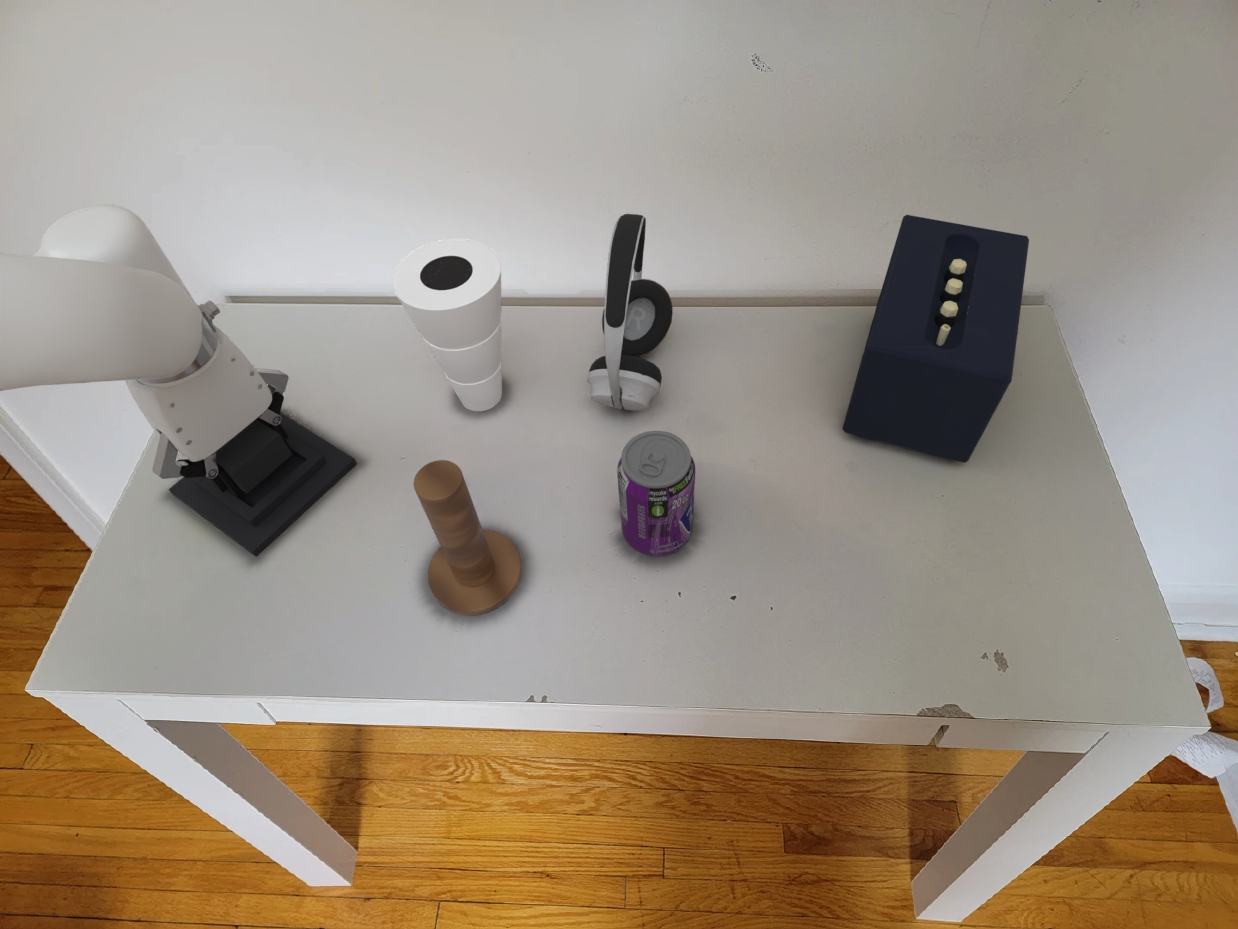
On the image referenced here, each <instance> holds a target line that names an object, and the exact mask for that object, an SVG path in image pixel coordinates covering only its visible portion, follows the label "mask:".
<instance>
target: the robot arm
mask: <svg viewBox="0 0 1238 929" xmlns="http://www.w3.org/2000/svg"><path fill="white" fill-rule="evenodd" d="M220 313H221V310H220V308H219V307H218V306H217V305H216V303H214V302H213V301H212V300H208V301H206V302H205V303H201V304H199V305H198V304H197V302H196V301H195V300H194V298H193V296H192V294H191V293H190V291H189V290H188V288H187V287H186V285H185V283H184V282H183V280H182V279H181V277H180V276H179V274H178V273H177V270H176V269H175V268H174V267H173V265H172V263H171V261H170V260H169V259H168V257H167V255H166V254H165V252H164V251H163V249H162V248H161V246H160V244H159V243H158V241H157V240H156V238H155V236H154V235H153V233H152V232H151V230H150V228H149V227H148V226H147V225H146V223H145V222H144V220H143V219H142V218H141V217H139V215H138V214H136V213H135V212H133V211H132V210H130V209H128V208H126V207H123V206H121V205H115V204H95V205H88V206H85V207H81V208H77V209H76V210H75V209H74V210H73V211H71V212H68V213H66V214H65V215H63V216H61V217H59V218H58V219H57V220H54V222H53V223H52V224H51V225H50V226H49V227H48V228H47V229H46V230H45V232H44V234H43V235H42V237H41V239H40V244H39V249H38V250H37V251H36V252H34V254H33V255H28V254H27V255H26V254H15V253H6V252H5V253H3V252H0V392H3V391H8V390H16V389H24V388H31V387H39V386H55V385H73V384H86V383H89V384H90V383H102V382H118V381H125V385H126V386H127V389H128V391H129V393H130V395H131V397H132V399H133V400H134V402H135V404H136V405H137V407H138V408H139V410H140V412H141V413H142V415H143V416H144V418H145V420H146V421H147V422H148V423H149V425H150V426H151V429H153V430H154V432H155V434H157V436H158V437H159V439H158V444H157V449H156V453H155V457H154V461H153V466H152V473H154V475H157V477H159V478H161V479H162V480H169V479H178V478H181V477H182V478H183V477H185V478H193V477H206V478H207V479H208V480H209V481H210V483H211V484H212V485H213V486H214V487H215V488H216V489H217V490H218V491H220V492H221V493H223V492H225V491H226V490H228V491H229V492H231V493H232V494H233V495H235V496H236V497H238V496H239V495H240V494H241V492H242V491H241V489H240V488H239V487H237V485H236V484H235V483H234V481H233V480H232V479H231V478H230V476H229V475H228V474H227V472H226V471H224V470H223V469H222V468H220V467H219V466H218V464H217V458H216V451H217V450H218V449H219V448H221V447H222V446H223V445H224V444H226V443H227V442H228V441H229V440H231V439H232V438H233V437H234V436H236V435H237V434H238V433H239V432H241V431H242V430H243V429H244V428H246V427H247V426H248V425H249V424H250V423H252V422H253V421H254V420H255V419H257V420H259V421H260V422H262V423H263V424H265V425H266V426H268V427H269V428H271V429H273V430H274V431H276V432H277V433H279V434H280V436H281V437H282V439H283V440H284V442H285V444H286V445H287V447H288V448H289V450H290V451H291V448H290V446H289V445H288V443H287V442H286V439H287V438H288V435H287V434H286V432H285V431H284V429H283V427H282V426H281V424H280V423H281V421H282V417H281V416H280V415H279V414H280V412H281V411H282V407H283V404H284V400H285V396H284V395H283V394H284V393H285V392H286V388H287V385H288V382H289V375H288V374H286V373H284V372H283V371H282V370H280V369H271V368H261V367H260V368H259V367H255V366H254V365H253V364H252V362H251V361H250V360H249V359H248V358H247V357H246V355H245V354H244V353H243V352H242V350H241V349H240V348H239V347H238V346H237V345H236V344H235V342H233V341H232V339H231V338H230V337H229V336H228V335H227V334H226V333H224V332H223V331H222V330H221V329H220V328H219V327H217V326H216V324H214V322H213V320H214V319H215V317H216V316H217V315H219V314H220ZM178 452H179V453H180V454H181V455H182V456H184V457H185V458H184V459H183V458H182V459H177V457H178Z"/></svg>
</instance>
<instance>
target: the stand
mask: <svg viewBox="0 0 1238 929" xmlns="http://www.w3.org/2000/svg"><path fill="white" fill-rule="evenodd" d="M413 489H414V491H415V493H416V496H417V499H418V500H419V502H420V504H421V507H422V509H423V511H424V513H425V516H426V518H427V520H428V522H429V524H430V526H431V528H432V530H433V533H434V535H435V537H436V540H437V541H438V544H439V546H440V547H439V548H438V549H437V550H436V552H435V553H434V555H433V556H432V558H431V560H430V563H429V567H428V571H427V579H428V586H429V589H430V591H431V593H432V595H433V597H434V599H435V600H436V601H437V603H438V604H439V605H440V606H441V607H443V608H444V609H445V610H447V611H449V612H451V613H453V614H456V615H460V616H467V617H469V616H470V617H471V616H472V617H473V616H481V615H484V614H488V613H490V612H493V611H494V610H496V609H498V608H500V607H501V606H503V605H504V604H505V603H506V602H507V601H509V600H510V598H511V597H512V596H514V594H515V592H516V591H517V589H518V587H519V585H520V582H521V579H522V575H523V574H522V573H523V565H522V560H521V557H520V553H519V551H518V549H517V547H516V546H515V544H514V543H513V542H512V541H511V540H510V539H509V538H508V537H507V536H505V535H503V534H501V533H500V532H498V531H494V530H490V529H483V527H482V524H481V522H480V519H479V516H478V514H477V510H476V507H475V505H474V502H473V499H472V496H471V493H470V491H469V488H468V486H467V482H466V480H465V477H464V474H463V471H462V469H461V467H460V466H459V465H458V464H456V463H455V462H453V461H450V460H445V459H438V460H433V461H431V462H428V463H425V465H423V466H422V467H420V468H419V470H418V471H417V472H416V474H415V476H414V478H413Z"/></svg>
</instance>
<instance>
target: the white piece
mask: <svg viewBox="0 0 1238 929" xmlns="http://www.w3.org/2000/svg"><path fill="white" fill-rule="evenodd" d="M391 287H392V291H393V292H394V294H395V295H396V297H397V299H398V300H399V302H400V304H401V305H402V307H403V309H404V310H405V313H406V314H407V315H408V317H409V319H410V320H411V322H412V323H413V325H414V327H415V328H416V331H417V332H418V333H419V334H420V337H421V338H422V340H423V342H424V343H425V345H426V346H427V348H428V350H429V351H430V352H431V354H432V356H433V358H434V359H435V361H436V363H437V364H438V366H439V367H440V369H441V370H442V372H443V374H444V376H445V378H446V379H447V381H448V383H449V384H450V386H451V387H452V389H453V392H455V394H456V396H457V398H458V399H459V401H460V403H461V404H462V405H463V407H464V408H466V409H467V410H469V411H473V412H485V411H488V410H491V409H493V408H495V407H496V406H497V405H498V404H499V403H500V401H501V400H502V397H503V371H502V370H503V364H502V363H503V361H502V360H503V359H502V264H501V260H500V258H499V255H498V254H497V253H496V252H495V250H493V249H492V248H491V247H490V246H488V245H486V244H485V243H482V242H481V241H478V240H474V239H469V238H462V237H461V238H460V237H459V238H458V237H456V238H453V237H452V238H451V237H450V238H444V239H439V240H434V241H431V242H428V243H425V244H423V245H421V246H418V247H416V248H415V249H413V250H411V251H410V252H408V253H407V254H406V255H405V256H403V257H402V258H401V259H400V261H399V262H398V263H397V264H396V266H395V267H394V270H393V272H392V275H391Z"/></svg>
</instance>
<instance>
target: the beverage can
mask: <svg viewBox="0 0 1238 929" xmlns="http://www.w3.org/2000/svg"><path fill="white" fill-rule="evenodd" d="M616 470H617V471H616V475H617V477H616V478H617V487H618V499H619V510H620V511H619V512H620V525H621V533H622V536H623V538H624V539H625V541H626V543H627V544H628V545H629V546H630V547H631V548H632V549H634V550H635V551H637V552H639V553H641V554H644V555H647V556H651V557H661V556H667V555H671V554H673V553H676V552H677V551H679V550H681V549H682V548H683V547H684V546H685V545H686V544H687V543H688V541H690V538H691V536H692V533H693V528H694V527H693V526H694V525H693V524H694V507H695V490H696V489H695V488H696V465H695V460H694V458H693V456H692V454H691V451H690V448H689V446H688V444H687V443H686V442H685V441H684V440H683V439H682V438H681V437H679V436H677V435H676V434H674V433H671V432H668V431H665V430H649V431H643V432H641V433H639V434H637V435H635V436H633V437H632V438H631V439H630V440H628V441H627V442H626V444H625V445H624V447H623V449H622V452H621V456H620V458H619V461H618V463H617V468H616Z"/></svg>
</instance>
